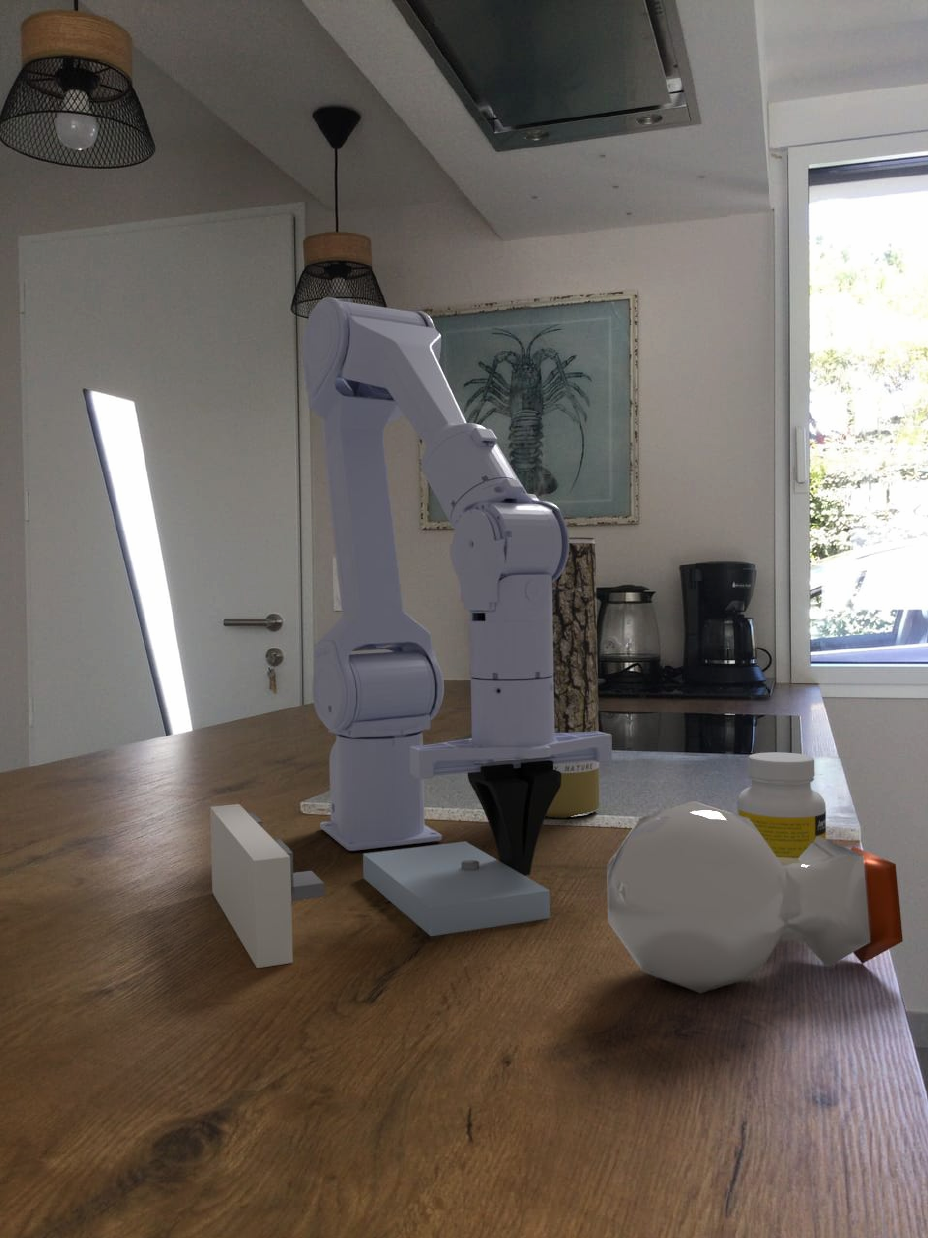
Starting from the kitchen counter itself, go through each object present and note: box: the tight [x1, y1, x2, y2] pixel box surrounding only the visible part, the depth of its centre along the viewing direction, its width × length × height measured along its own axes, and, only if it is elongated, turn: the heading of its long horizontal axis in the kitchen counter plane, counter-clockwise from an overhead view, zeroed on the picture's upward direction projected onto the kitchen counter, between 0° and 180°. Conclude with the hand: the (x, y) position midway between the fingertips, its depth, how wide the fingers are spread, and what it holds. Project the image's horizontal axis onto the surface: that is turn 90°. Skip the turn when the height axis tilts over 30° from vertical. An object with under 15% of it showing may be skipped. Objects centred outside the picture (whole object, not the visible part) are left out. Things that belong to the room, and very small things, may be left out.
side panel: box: [209, 803, 325, 969], centre depth 67 cm, size 16×4×6 cm, turn 22°
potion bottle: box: [606, 800, 904, 994], centre depth 56 cm, size 9×10×15 cm
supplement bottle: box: [736, 751, 827, 858], centre depth 67 cm, size 5×5×10 cm
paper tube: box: [546, 537, 600, 819], centre depth 97 cm, size 7×7×25 cm
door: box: [362, 840, 551, 937], centre depth 71 cm, size 14×8×3 cm, turn 22°
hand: (515, 872), depth 73 cm, fingers closed
